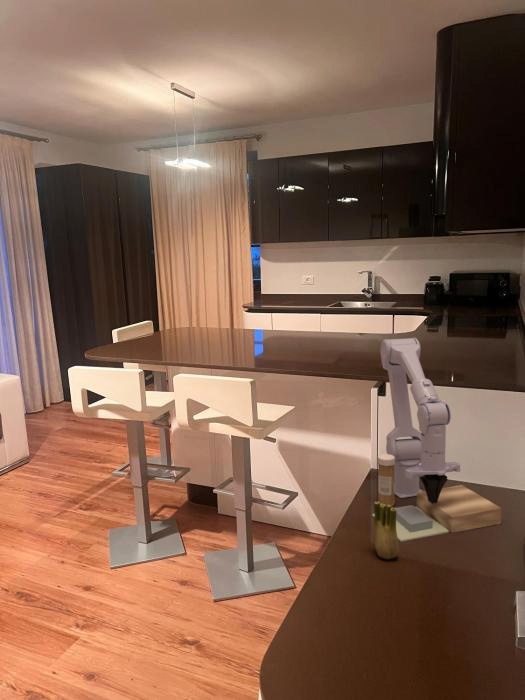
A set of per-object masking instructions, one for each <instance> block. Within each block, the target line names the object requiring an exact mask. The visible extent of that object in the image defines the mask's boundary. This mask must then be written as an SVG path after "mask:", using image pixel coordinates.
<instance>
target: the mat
mask: <svg viewBox="0 0 525 700" xmlns="http://www.w3.org/2000/svg"><path fill="white" fill-rule="evenodd" d="M414 507H415V508H417V509H418V510H419V511H421V512H422V513H423V514H425V515H426V516H427V517H429V518H430V519H431V520H433V528H431V529H426V530H421V531H416V532H410V531H409V530H407V529H406V528H405V527H404V526H403V525H401V524H400V523H399V522H398V521H397V520H396V532H397V537H398V542H401V543H402V542H407V541H412V540H418V539H422V538H427V537H433V536H437V535H443V534H448V533H450V531H449V530H447V529H446V528H445V527H443V526H442V525H441V524H439V523H438V522H437V521H435V520H434V519H433V518H431V517H430V516H429V515H427V514H426V513H425V512H423V511H422V510H420V509H419V508H418V507H417V506H414ZM371 516H372V517H373V518H375V513H372V514H371Z"/></svg>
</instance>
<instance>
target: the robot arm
mask: <svg viewBox="0 0 525 700" xmlns="http://www.w3.org/2000/svg"><path fill="white" fill-rule="evenodd" d="M379 351H380V352H379V353H380V358H381V359H380V360H381V365H382V368H383V369H384V370H386V371H387V374H388V378H389V380H388V381H389V388H390V389H389V390H390V395H391V404H392V405H391V406H392V413H393V421H394V428H393V429H392V430H391V431H389V432H388V433H387V435H386V446H385V448H386V449H385V452H386V454H390V455H393V456H394V457H395V465H394V476H395V496H397V497H399V498H400V499H405V498H411V497H417V492H423V491H426V493H427V498H428V501H429V502H431V503H432V504H434V503H437V502H438V498H439V495H440V492H441V490H442V488H444V486H445V484H446V483H447V481H448V476H447V475H446V473H452V472H456V473H459V472H461V464H460V463H459V462H457V461H450V462H446V443H447V442H446V438H447V437H446V435H447V434H446V432H447V431H446V429H447V427H446V426H447V425H449V424H450V422H451V418H452V414H451V409H450V407H449V406H450V405H449V404H448V403H447V401H445V400H443V398H440V396H439V395H438V392H437V390H436V388H435V386H434V384H433V382H432V381H431V380H430V379H429V378H426V376H425V373H424V370H423V368H422V364H421V362H420V357H421V343H420V341H419V340H418V339H417V337H411V338H393V339H392V338H391V339H388V338H385V339H383V340H382V342H381V344H380V350H379ZM407 377H408V379H409V380H410V382H411V384H410V386H408V380H407ZM409 389H410V392H411V394H412V397H413V399H414V403H415V404H416V406H417V411H416V417H417V421H418V429H419V430H418V429H416V428H415V427H414V426H413V418H412V411H411V410H412V409H411V402H410V394H409ZM408 437H409V438H408ZM399 438H400V439H399ZM420 481H421V482H422V484H423V487H424V489H425V490H423V489H421V488H420Z"/></svg>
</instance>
